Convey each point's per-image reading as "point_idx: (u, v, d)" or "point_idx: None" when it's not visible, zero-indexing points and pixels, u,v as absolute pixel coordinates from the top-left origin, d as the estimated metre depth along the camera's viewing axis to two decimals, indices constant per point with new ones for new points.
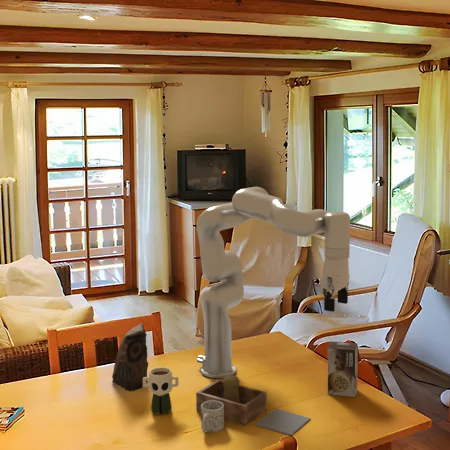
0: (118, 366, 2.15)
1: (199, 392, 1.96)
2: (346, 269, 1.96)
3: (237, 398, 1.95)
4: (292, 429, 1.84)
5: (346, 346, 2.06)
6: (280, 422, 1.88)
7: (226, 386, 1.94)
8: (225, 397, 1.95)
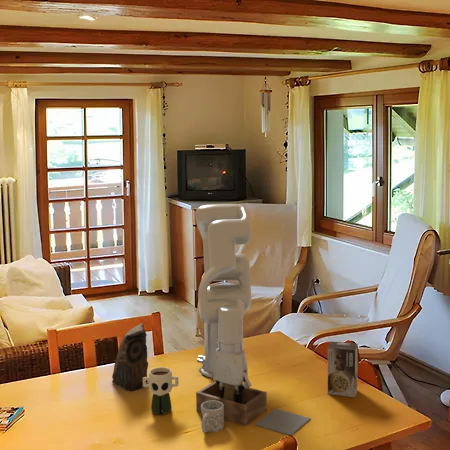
0: (118, 366, 2.15)
1: (199, 392, 1.96)
2: None
3: None
4: (292, 429, 1.84)
5: (346, 346, 2.06)
6: (280, 422, 1.88)
7: (226, 386, 1.94)
8: (225, 397, 1.95)
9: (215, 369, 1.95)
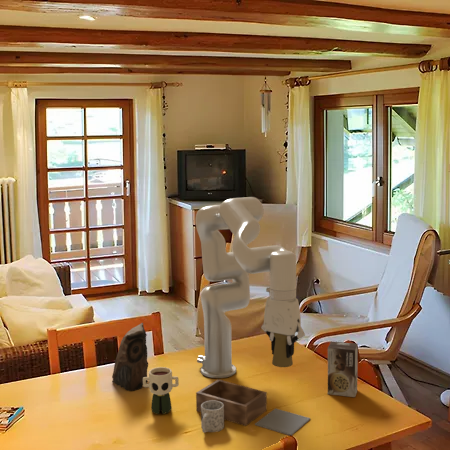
0: (118, 366, 2.15)
1: (199, 392, 1.96)
2: None
3: None
4: (292, 429, 1.84)
5: (346, 346, 2.06)
6: (280, 422, 1.88)
7: (278, 336, 1.83)
8: (276, 348, 1.84)
9: (266, 319, 1.84)
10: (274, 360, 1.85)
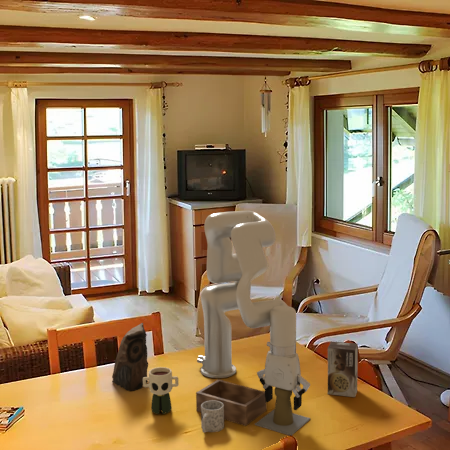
0: (118, 366, 2.15)
1: (199, 392, 1.96)
2: None
3: (290, 408, 1.87)
4: (292, 429, 1.84)
5: (346, 346, 2.06)
6: None
7: (278, 395, 1.86)
8: (277, 407, 1.87)
9: (266, 373, 1.87)
10: (275, 418, 1.88)
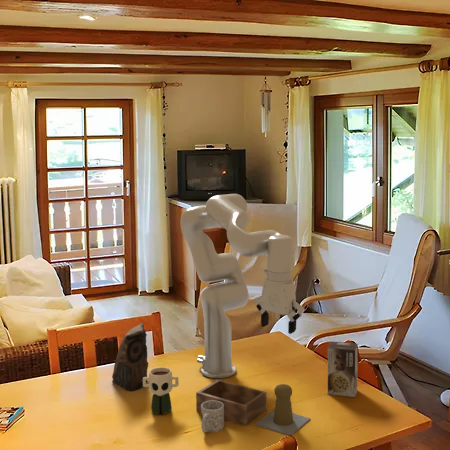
0: (118, 366, 2.15)
1: (199, 392, 1.96)
2: None
3: (290, 408, 1.87)
4: (292, 429, 1.84)
5: (346, 346, 2.06)
6: None
7: (278, 395, 1.86)
8: (277, 407, 1.87)
9: (263, 298, 1.96)
10: (275, 418, 1.88)
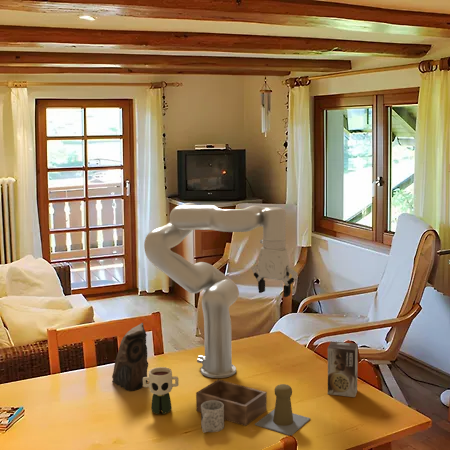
0: (118, 366, 2.15)
1: (199, 392, 1.96)
2: None
3: (290, 408, 1.87)
4: (292, 429, 1.84)
5: (346, 346, 2.06)
6: None
7: (278, 395, 1.86)
8: (277, 407, 1.87)
9: (260, 266, 2.14)
10: (275, 418, 1.88)
